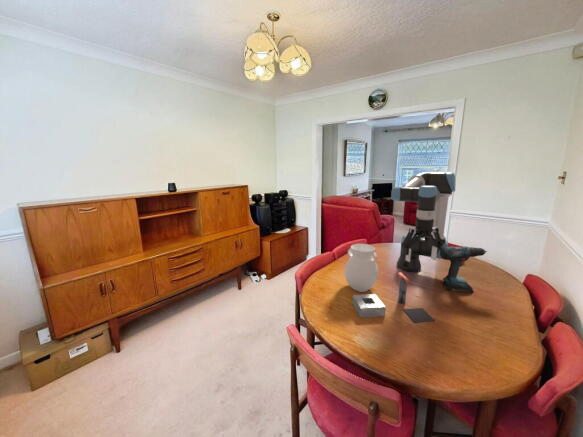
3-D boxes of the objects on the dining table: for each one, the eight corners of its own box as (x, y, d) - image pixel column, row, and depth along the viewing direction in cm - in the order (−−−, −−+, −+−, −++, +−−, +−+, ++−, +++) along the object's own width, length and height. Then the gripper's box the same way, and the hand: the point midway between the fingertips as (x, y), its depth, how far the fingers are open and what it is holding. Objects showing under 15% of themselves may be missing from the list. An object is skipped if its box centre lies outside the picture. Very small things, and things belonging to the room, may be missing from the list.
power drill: (485, 293, 136) (492, 250, 130) (439, 290, 140) (444, 248, 135) (476, 285, 144) (483, 244, 139) (433, 282, 149) (438, 243, 143)
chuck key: (394, 297, 134) (396, 272, 131) (400, 296, 134) (402, 272, 131) (402, 306, 125) (405, 280, 122) (409, 306, 126) (412, 280, 122)
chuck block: (352, 303, 129) (352, 295, 128) (374, 302, 130) (375, 293, 129) (360, 317, 117) (360, 308, 116) (385, 316, 118) (385, 306, 117)
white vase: (382, 286, 146) (385, 246, 140) (368, 299, 133) (370, 255, 127) (354, 277, 158) (355, 239, 152) (338, 288, 145) (339, 247, 139)
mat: (402, 309, 123) (403, 309, 123) (422, 308, 124) (422, 307, 124) (414, 322, 113) (414, 321, 113) (435, 321, 114) (435, 320, 114)
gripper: (404, 221, 114) (400, 264, 118) (454, 218, 116) (449, 261, 121) (396, 217, 121) (392, 258, 126) (443, 215, 123) (438, 255, 128)
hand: (420, 260), depth 123 cm, fingers open, 13 cm apart
